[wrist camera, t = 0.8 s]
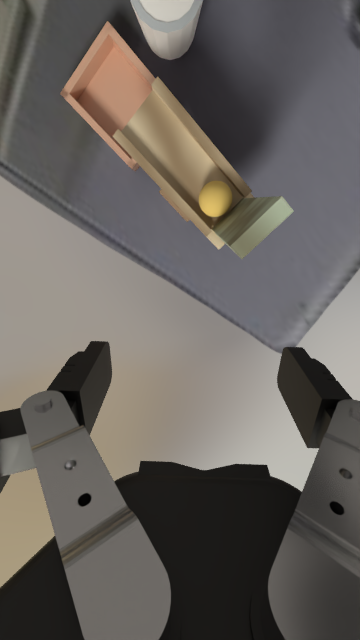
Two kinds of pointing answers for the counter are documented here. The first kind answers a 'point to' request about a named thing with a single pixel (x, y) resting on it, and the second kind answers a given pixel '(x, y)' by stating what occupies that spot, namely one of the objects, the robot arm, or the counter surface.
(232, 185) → the ramp
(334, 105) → the counter surface
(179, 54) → the white cylinder
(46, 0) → the counter surface
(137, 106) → the dish
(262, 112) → the counter surface
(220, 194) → the ball
